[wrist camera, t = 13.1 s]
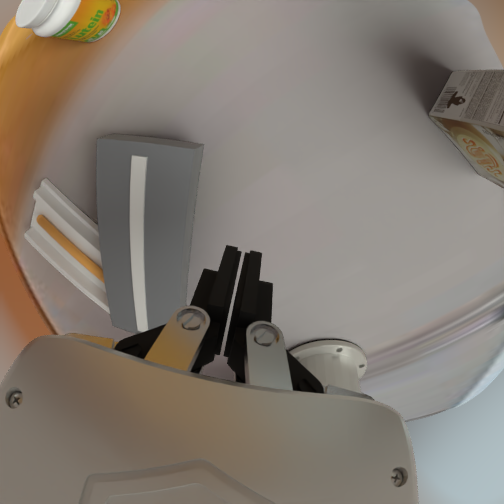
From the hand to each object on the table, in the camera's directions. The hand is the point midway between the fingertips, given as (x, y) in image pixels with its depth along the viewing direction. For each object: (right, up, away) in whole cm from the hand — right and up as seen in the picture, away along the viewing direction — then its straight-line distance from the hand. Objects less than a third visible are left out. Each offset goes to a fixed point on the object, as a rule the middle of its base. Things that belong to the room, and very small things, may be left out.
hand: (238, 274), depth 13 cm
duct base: (-18, 0, +16) cm, 24 cm away
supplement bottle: (-14, +23, +2) cm, 27 cm away
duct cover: (-9, +1, +11) cm, 15 cm away
